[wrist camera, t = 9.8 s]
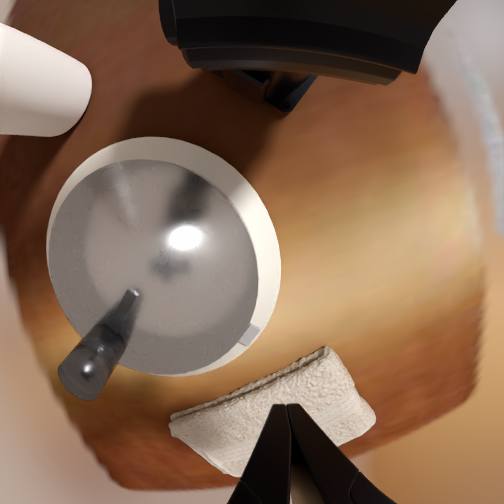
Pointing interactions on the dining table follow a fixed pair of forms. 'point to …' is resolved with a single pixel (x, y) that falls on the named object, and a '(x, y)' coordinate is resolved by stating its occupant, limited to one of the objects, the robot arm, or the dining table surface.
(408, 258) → the dining table surface
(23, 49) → the can
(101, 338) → the dial
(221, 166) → the dial base
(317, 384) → the washcloth
